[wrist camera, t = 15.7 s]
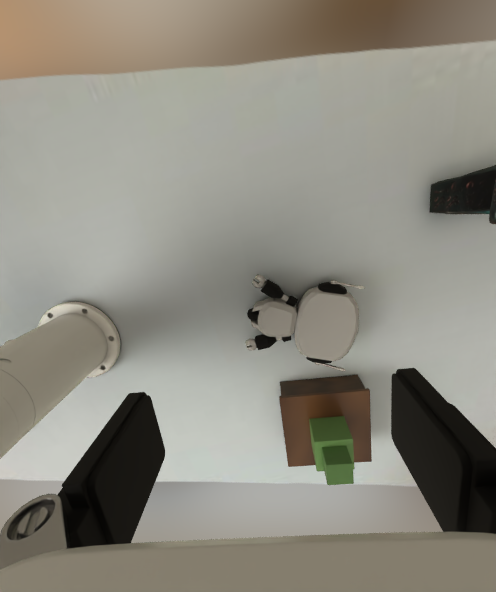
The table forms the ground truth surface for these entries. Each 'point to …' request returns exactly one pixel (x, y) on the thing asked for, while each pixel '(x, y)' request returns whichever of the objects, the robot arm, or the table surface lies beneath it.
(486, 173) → the ceramic cat
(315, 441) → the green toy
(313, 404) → the walnut plinth
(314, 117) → the table surface
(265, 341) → the robot toy
